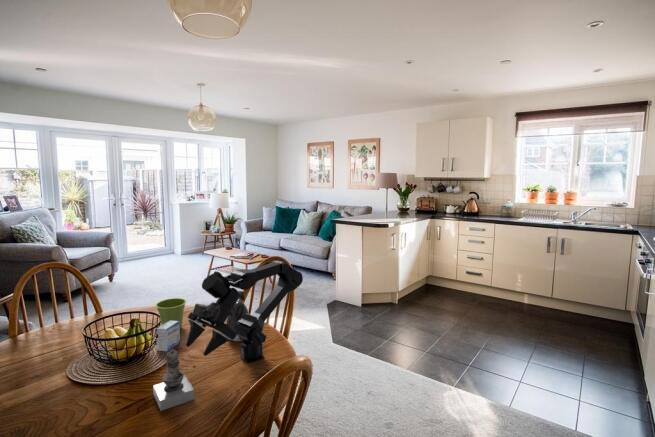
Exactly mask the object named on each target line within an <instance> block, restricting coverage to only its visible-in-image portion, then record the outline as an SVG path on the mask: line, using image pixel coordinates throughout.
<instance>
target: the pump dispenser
mask: <svg viewBox="0 0 655 437" xmlns="http://www.w3.org/2000/svg"><path fill="white" fill-rule="evenodd" d="M231 313H232V316H228V317H227V319H226V320H225V324H227V325H229V326H230V327H232V328H233V329H234V330H236V326H237V324H238V323H239V322H238V321H239V320H240V319H241V318H242V317H243V316H244V314H246V313H247V314H250V312H249V310H248V308H247V305H246V304H245V303H244V302H243V301H242V300H241V301H239V300H238V301H237V303H236V304H235V306H234V307H233V309H232V311H231ZM232 341H233V342H242V341H243V340H240V339H239V337H238V336H237V335H236V337H235V338H234V340H232Z"/></svg>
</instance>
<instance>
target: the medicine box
mask: <svg viewBox="0 0 655 437" xmlns="http://www.w3.org/2000/svg"><path fill="white" fill-rule="evenodd" d="M158 327H159V328H158ZM158 327H156V329H157V334H158V338H156V350H157V351H161V352H167V351H168V352H170V351H171V348H173V349H174V347H176V346H177V345H179V343H181V336H180V335H181V333H180V331H181V330H180V329H179V321H168V322H166V323H165V324H163V325H162V324H161V325H160V326H158Z"/></svg>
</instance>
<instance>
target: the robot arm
mask: <svg viewBox="0 0 655 437" xmlns="http://www.w3.org/2000/svg"><path fill="white" fill-rule="evenodd" d="M276 275H277V276H278V279H277V285H276V287H274V288H273V290H272V291H271V292H270V293H269V294H268V296H267V297H266V298H265V299H264V300H263V302H262V303H261V304H260V305H259V306H258V307H257V309H256V310H254V312H253V313H251V314H250V313H249V314H247V313H246V314H244V316H243V317H242V318H241V319H240V320H239V321H238V322H239V323H238V324H237V326H236V330H234V329H233V328H232V327H230V326H229V325H227V324H226V320H227V317H228V316H232V313H231V311H232V309H233V307H234V306H235V304H236V303H237V301H239V300H241V301H245V299H246V298H245V296H244V295H245V294H244V293H245V292H244V291H246V290H249V289H251V288H252V287H254V286H256V284H257V283H258V282H259V281H262V280H265V279H268V278H270V277H273V276H276ZM303 280H304V276H303V273H302V272H301V271H298V270H296V269H295V268H293V267H292V266H290V264H288V262H285V261H283V260H282V261H281V260H275V261H273V262H270V263H268V264H264V265H261V266H257V267H255V268H252V269H250V268H249V269H235V270H233V271H231V273H230V274H228V275H226V276H223V274H222V273H221V272H220V271H217V270H215V271H214V272H213V273H211V274H209V275H207V277H204V280H203V281H202V283H201V288H202V289H203V290H204V291H205V292H206V293H208V294H209V295H210V296H211V297H213V298H214V299H216V301H215V302H213V301H212V302H211V303H210V304H208V305H207V304H201V303H195V305H194V307H193V310H192V311H191V312H190V313H189V314H188V316H187V317H186V318H187V319H188V322H189V326H190V329H189V333H188V336H187V339H186V343H185V346H186V348H187V347H188V348H189V347H190V346H191V345H193V344H194V342H195V341H196V340H197V339H198V338H199V337H200V336H201V335H202V334H203V332H205V331H206V329H205V328H206V327H209V328H210V329H213V330H212V336H211V339H210V340H209V342H208V344H207V346H206V347H205V350H204V351H203V354H202V355H203V356H205V357H207V356H208V355H209V354H211V353H213V352H214V351H215V350H216V349H218V348H219V347H221V346H222V345H224V344H226V343H227V342H228V343H229V342H230V341H233V340H234V338H235V337H236V335H237V336H238V337H239V339H240V340H243V341H241V342H242V343H241V344H242V345H241V346H240V358H242V359H243V360H244V361H245V363H247V364H250V363H254V362H258V361H259V360H263V359H265V355H263V343H266V338H267V335H266V334H264V333H263V330H264V325H265V322H266V320H267V319H268V318H269V316H271V314H273V312H274V311H275V309H276V308H277V307H278V305H279V304H280V303H281V302H282V300H283V299H285V297H287V296H286V295H287V294H289V293H291V292H293V291H296V290H297V289H298V288H299V287H300V285H302V284H303ZM238 289H240V290H238ZM242 290H243V291H242Z"/></svg>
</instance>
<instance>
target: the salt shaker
mask: <svg viewBox="0 0 655 437" xmlns="http://www.w3.org/2000/svg"><path fill="white" fill-rule="evenodd" d="M166 359H167V360H166V361H167V362H166V363H165V365H166V367H167V372H166V373H164V374H163V376H162V379H161V380H162V381H163V382H164V383H165V385H166V386H165V388H164V391H165V392H167V393H173V392H177V391H179V390H181V389H182V388H183V387H184V384H183V383H182V380H183V376H185V372H184V371H183V370H180V367H179V366H180V363H181V362H180V360H179V353H178V351H177V350H174V347H173V348H172V349H170V350H169V351H168V352H167V354H166Z"/></svg>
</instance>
